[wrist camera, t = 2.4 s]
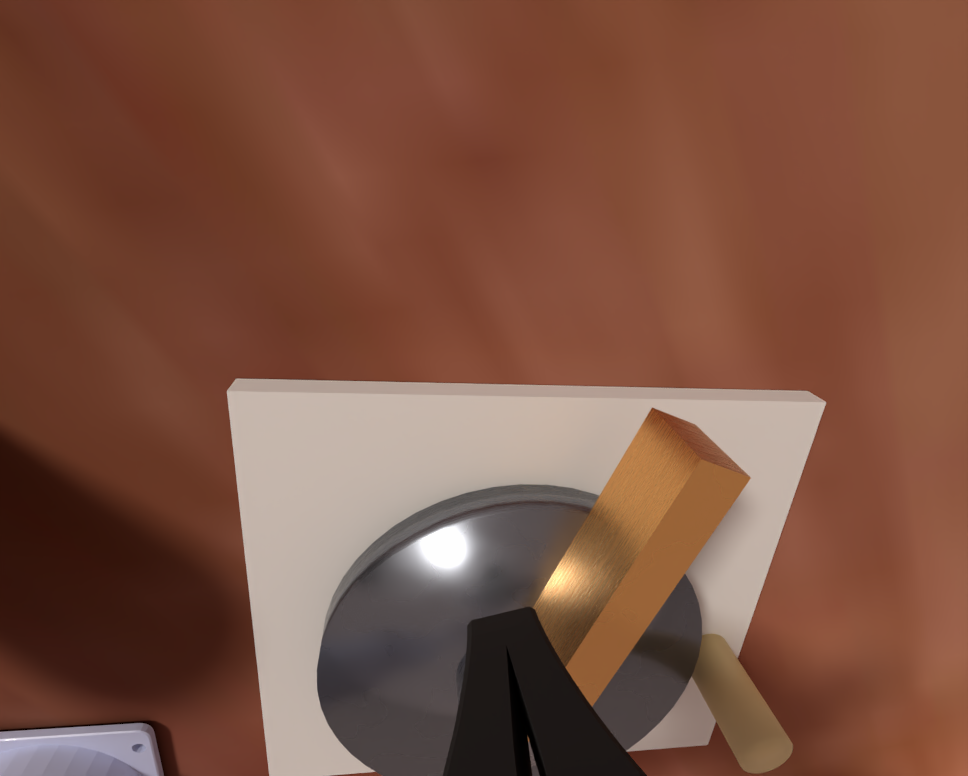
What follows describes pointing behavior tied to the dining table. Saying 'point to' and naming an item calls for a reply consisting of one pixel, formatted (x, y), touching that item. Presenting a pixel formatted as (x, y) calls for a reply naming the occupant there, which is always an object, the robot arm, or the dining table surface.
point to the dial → (529, 597)
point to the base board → (475, 466)
